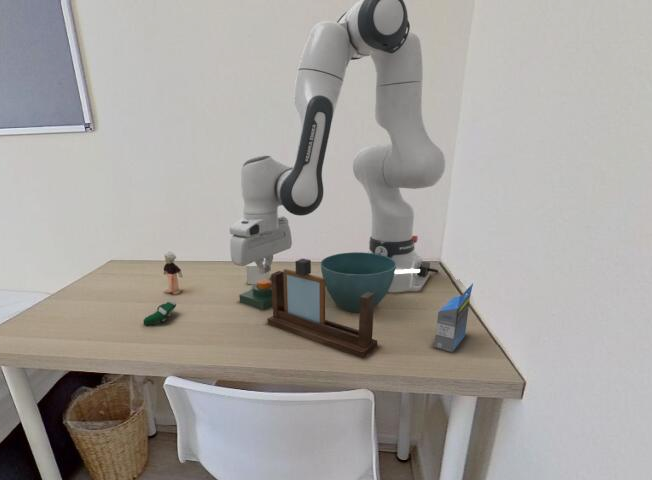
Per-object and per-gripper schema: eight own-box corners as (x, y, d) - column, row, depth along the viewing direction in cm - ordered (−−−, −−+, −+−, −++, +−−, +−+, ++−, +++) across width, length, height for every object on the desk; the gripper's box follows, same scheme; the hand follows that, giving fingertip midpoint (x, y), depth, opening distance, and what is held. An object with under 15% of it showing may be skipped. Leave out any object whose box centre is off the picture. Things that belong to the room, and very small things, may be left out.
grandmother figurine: (160, 293, 118) (153, 252, 113) (168, 289, 121) (162, 249, 117) (181, 296, 115) (176, 254, 111) (189, 291, 118) (183, 250, 114)
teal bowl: (371, 329, 90) (374, 279, 86) (307, 310, 101) (306, 265, 97) (404, 303, 103) (408, 258, 98) (344, 289, 114) (344, 248, 110)
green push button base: (266, 290, 116) (266, 277, 115) (290, 297, 111) (289, 283, 109) (239, 302, 109) (238, 288, 107) (263, 310, 103) (262, 295, 102)
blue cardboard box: (447, 331, 88) (453, 279, 83) (465, 336, 85) (473, 282, 81) (433, 347, 81) (439, 292, 77) (453, 353, 79) (460, 296, 75)
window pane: (288, 314, 95) (286, 255, 90) (327, 327, 88) (327, 263, 83) (282, 318, 94) (280, 257, 88) (321, 331, 87) (321, 266, 81)
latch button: (264, 284, 111) (263, 278, 110) (273, 286, 109) (273, 280, 108) (255, 288, 108) (254, 282, 108) (264, 290, 106) (264, 284, 106)
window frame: (283, 315, 99) (281, 268, 95) (377, 346, 83) (380, 291, 78) (267, 324, 95) (264, 275, 91) (362, 358, 79) (365, 301, 74)
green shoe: (152, 333, 98) (165, 318, 95) (140, 322, 97) (153, 307, 95) (168, 317, 106) (181, 303, 104) (157, 307, 106) (170, 293, 103)
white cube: (251, 277, 128) (250, 260, 125) (270, 278, 126) (269, 260, 124) (247, 284, 122) (246, 265, 120) (266, 284, 121) (265, 265, 119)
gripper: (278, 213, 111) (281, 260, 116) (224, 229, 98) (229, 281, 103) (296, 215, 107) (297, 264, 112) (241, 231, 93) (246, 286, 99)
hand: (265, 272), depth 107 cm, fingers closed
